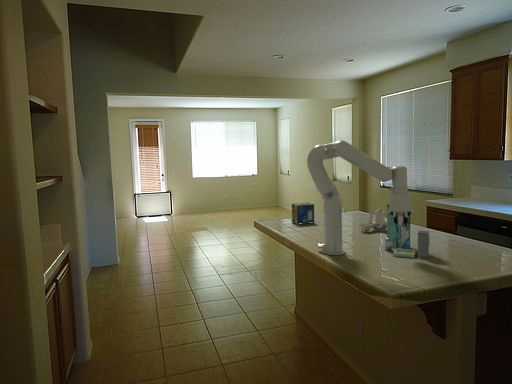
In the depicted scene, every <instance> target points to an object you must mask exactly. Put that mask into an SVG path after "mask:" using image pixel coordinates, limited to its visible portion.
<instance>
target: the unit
mask: <svg viewBox="0 0 512 384" xmlns="http://www.w3.org/2000/svg"><path fill="white" fill-rule="evenodd" d="M430 246H431V236H430V231H429V230H418V231H417V258H422V259H423V258H424V259H429V256H430Z"/></svg>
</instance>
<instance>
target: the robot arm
mask: <svg viewBox="0 0 512 384" xmlns="http://www.w3.org/2000/svg"><path fill="white" fill-rule="evenodd" d="M334 158H341V159H343V160H344V161H346V162H347V163H348V164H349V163H350V164H351V165H353V166H354V167H356V168H357V169H359V170H362V171H364V172H366V173H368V174H369V175H371V176H372V177H374V178H376V179H377V180H379V181H381V182H384V183H385V182H389V181H391V187H388V188H389V189H388V190H389V191H391V192H390V196H389V203H390V206H389V208H388V209H387V208H386V213H387V212H388V213H390V214H391V215H392V216H393V217H394V223H395V225H397V216H396V212H404V213H405V218H404V223H405V225H406V224H407V223H408V216H409V215H410V216H411V214H413V213H415V211H416V210H415V208H414V207H413V206H412V205H411V204H412V201H411V195H410V192H409V191H408V168H407V167H406V166H405V165H397V166H386V165H385V164H383V163H381V162H379V161H378V160H376V159H374V158H373V157H371V156H370V155H369V154H367V153H366V152H364V151H362V150H361V149H359V148H357V147H356V146H355V145H353V144H351V143H349V142H347V141H346V140H342V139H340V140H338V141H335V142H330V143H325V144H317V145H315V146H314V147H312V148H311V150H310V151H309V153H308V154H307V159H306V164H307V165H306V166H307V169H308V171H309V173H310V176H311V178H312V181H313V184H314V186H315V189H316V190H317V192H318V193H319V194H320V195H321V198H322V200H323V218H324V219H323V223H324V224H323V225H324V230H323V231H324V243H323V244H321V243H318V244H317V246H316V247H317V248H318V249H321V253H322V254H324V255H327V256H328V255H329V256H341V255H344V254H346V250H345V249H344V248H343V200H342V198H341V195H340V193H339V191H338V189H337V188H338V187H336V183H335V182H334V180H333V179H332V178H331V177H330V176H329V173H328V172H327V169H326V167H325V165H324V161H325V160H329V159H334ZM391 211H392V212H391ZM409 211H410V212H409ZM393 212H394V213H393ZM408 212H409V213H408Z"/></svg>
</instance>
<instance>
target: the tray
mask: <svg viewBox="0 0 512 384" xmlns="http://www.w3.org/2000/svg"><path fill="white" fill-rule="evenodd" d="M416 254H417V253H416V249H409V248H401V249H399V248H396V249H395V248H394V251H393V257H397V258H409V259H414V258H415V257H416Z"/></svg>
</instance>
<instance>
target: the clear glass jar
mask: <svg viewBox="0 0 512 384" xmlns="http://www.w3.org/2000/svg"><path fill="white" fill-rule="evenodd" d="M392 240H393V238H391V237H387V236H385V237H384V251H386V252H393V247H392Z"/></svg>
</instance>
